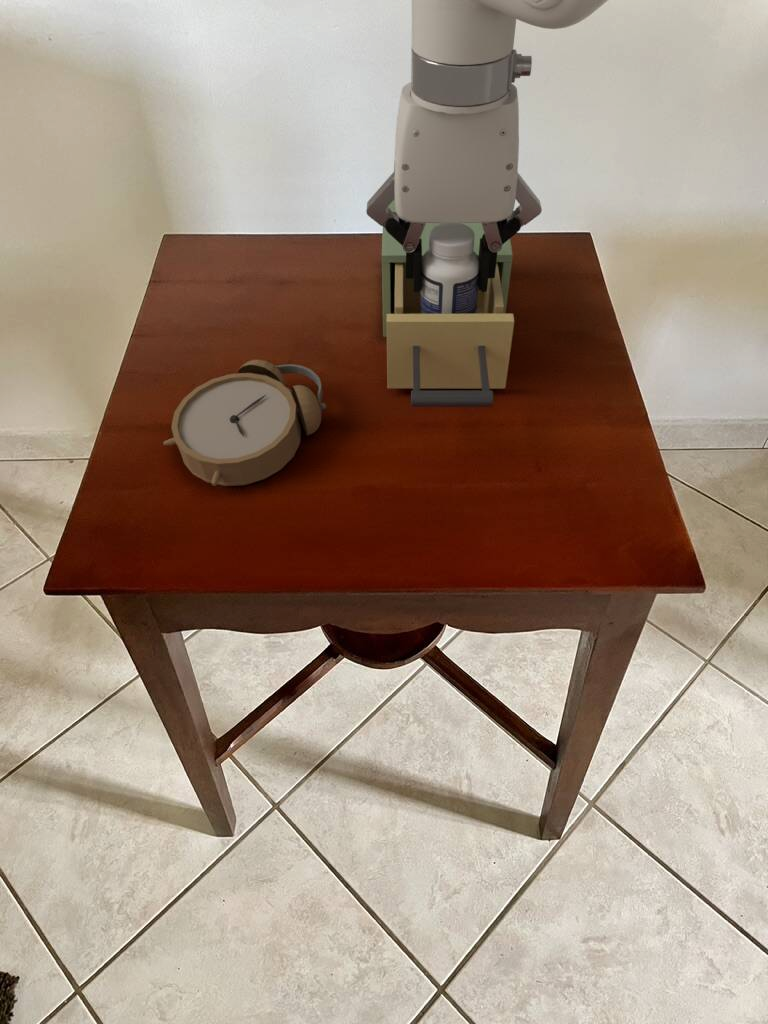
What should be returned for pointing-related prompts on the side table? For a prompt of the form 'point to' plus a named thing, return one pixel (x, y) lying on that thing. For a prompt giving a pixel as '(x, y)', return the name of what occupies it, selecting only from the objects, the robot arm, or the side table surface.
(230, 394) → the alarm clock
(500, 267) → the cabinet
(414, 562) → the side table surface
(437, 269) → the pill bottle
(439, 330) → the drawer
